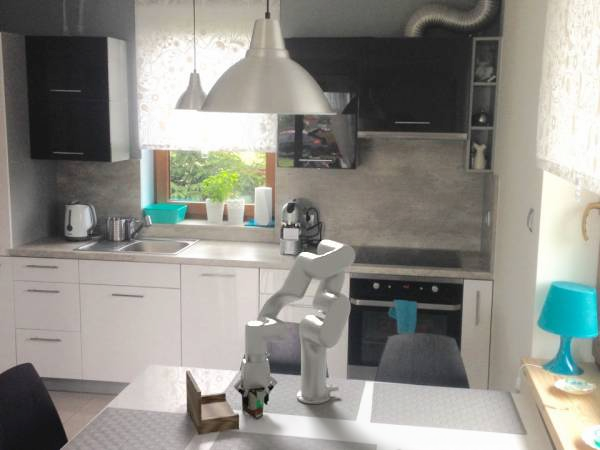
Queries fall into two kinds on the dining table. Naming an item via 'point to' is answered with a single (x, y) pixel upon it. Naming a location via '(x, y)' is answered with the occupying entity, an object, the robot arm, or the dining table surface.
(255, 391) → the food container
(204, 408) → the low wooden shelf
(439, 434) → the dining table surface
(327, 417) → the dining table surface
